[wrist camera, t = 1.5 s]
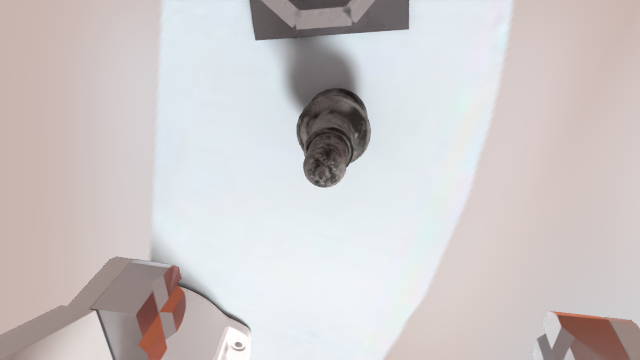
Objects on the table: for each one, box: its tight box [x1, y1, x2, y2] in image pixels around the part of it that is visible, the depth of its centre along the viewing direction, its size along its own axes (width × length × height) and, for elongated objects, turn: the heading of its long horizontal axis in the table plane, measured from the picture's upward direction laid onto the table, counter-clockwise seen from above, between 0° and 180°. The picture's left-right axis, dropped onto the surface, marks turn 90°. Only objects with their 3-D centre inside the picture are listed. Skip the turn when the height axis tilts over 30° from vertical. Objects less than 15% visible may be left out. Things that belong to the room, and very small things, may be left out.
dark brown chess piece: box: [297, 88, 371, 188], centre depth 31 cm, size 6×6×12 cm
